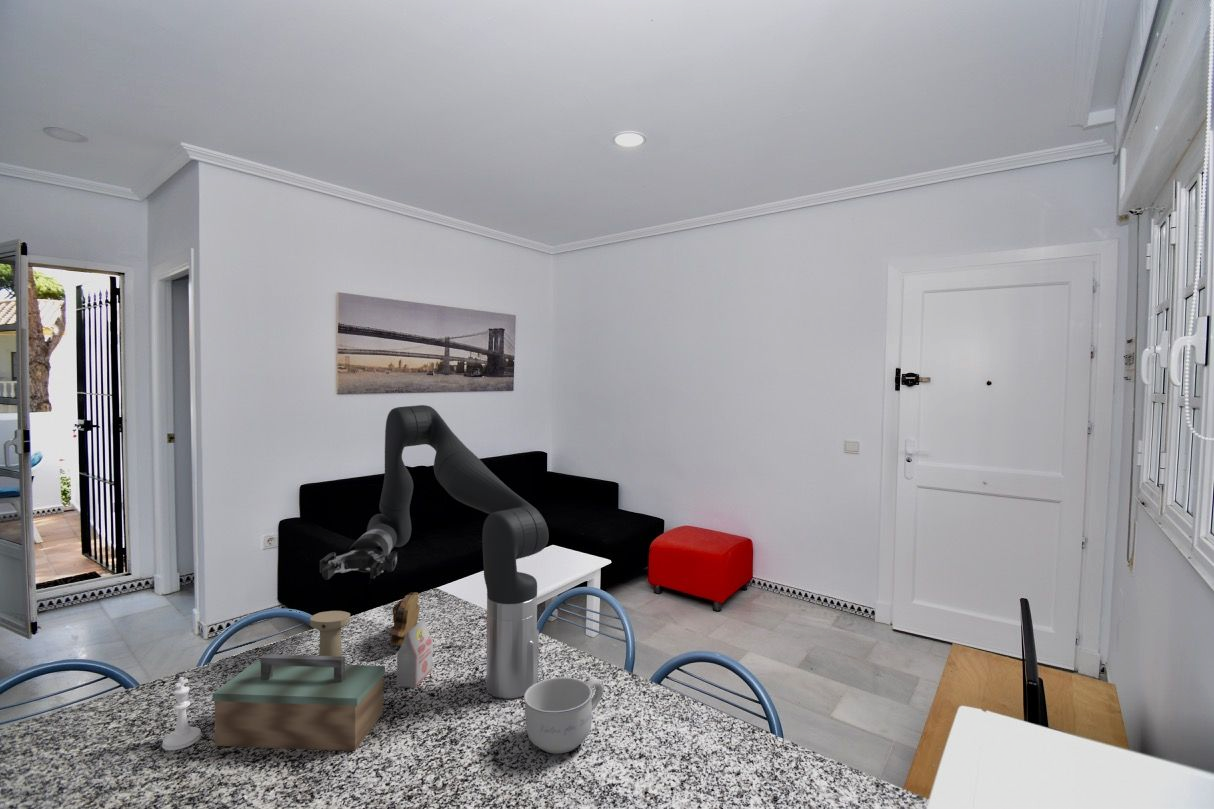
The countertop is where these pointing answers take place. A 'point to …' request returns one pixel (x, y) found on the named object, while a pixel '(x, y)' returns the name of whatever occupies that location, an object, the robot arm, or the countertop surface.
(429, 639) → the milk carton
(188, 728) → the chess piece
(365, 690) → the toolbox
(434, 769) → the countertop surface
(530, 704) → the teacup
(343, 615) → the handle
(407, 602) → the wooden carving
